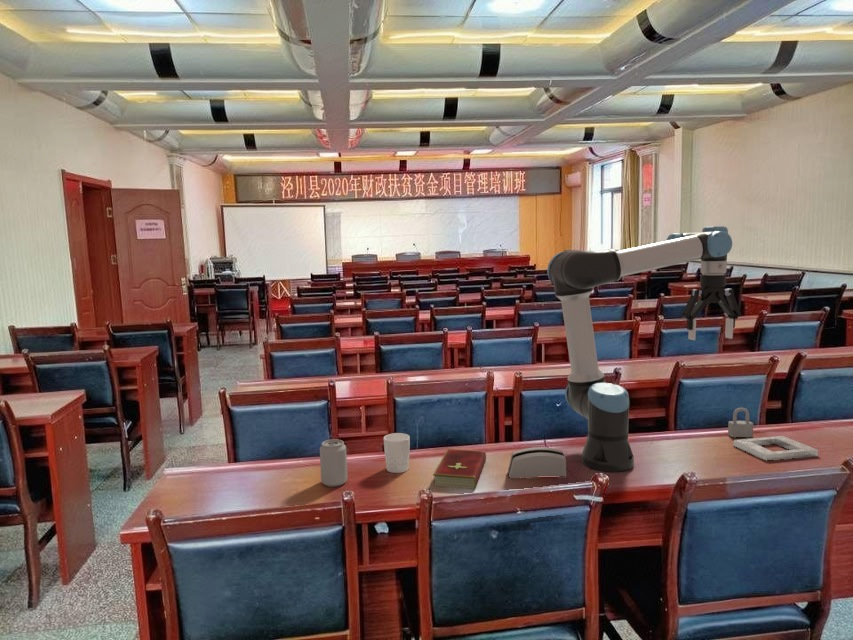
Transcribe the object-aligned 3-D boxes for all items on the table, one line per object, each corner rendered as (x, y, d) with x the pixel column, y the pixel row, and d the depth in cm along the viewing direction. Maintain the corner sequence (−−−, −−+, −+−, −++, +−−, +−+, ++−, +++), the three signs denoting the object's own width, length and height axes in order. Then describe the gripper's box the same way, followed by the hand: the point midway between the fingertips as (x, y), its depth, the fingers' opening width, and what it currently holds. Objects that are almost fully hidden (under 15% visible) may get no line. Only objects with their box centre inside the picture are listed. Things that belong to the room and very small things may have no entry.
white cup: (387, 475, 169) (386, 442, 167) (382, 466, 176) (381, 434, 175) (413, 472, 171) (412, 439, 169) (407, 463, 178) (406, 431, 177)
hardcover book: (486, 463, 178) (486, 450, 177) (476, 491, 157) (475, 476, 157) (448, 460, 180) (447, 447, 180) (433, 487, 160) (433, 473, 160)
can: (348, 477, 168) (347, 437, 167) (346, 487, 161) (344, 446, 159) (323, 478, 168) (321, 438, 166) (319, 488, 160) (317, 447, 159)
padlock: (732, 438, 193) (734, 409, 192) (726, 434, 197) (727, 406, 196) (754, 438, 193) (755, 409, 192) (747, 434, 197) (748, 405, 196)
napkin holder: (563, 470, 169) (566, 443, 165) (566, 481, 165) (570, 454, 160) (506, 472, 169) (508, 445, 164) (508, 483, 165) (510, 456, 160)
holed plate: (765, 461, 172) (766, 454, 172) (733, 446, 186) (733, 440, 186) (817, 456, 175) (818, 449, 175) (782, 441, 189) (782, 435, 189)
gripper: (685, 275, 181) (683, 342, 183) (755, 274, 185) (752, 339, 188) (671, 274, 188) (669, 338, 191) (739, 273, 192) (736, 335, 195)
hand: (710, 338), depth 189 cm, fingers open, 13 cm apart
